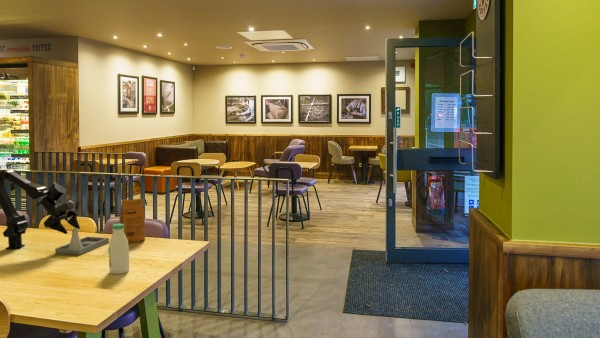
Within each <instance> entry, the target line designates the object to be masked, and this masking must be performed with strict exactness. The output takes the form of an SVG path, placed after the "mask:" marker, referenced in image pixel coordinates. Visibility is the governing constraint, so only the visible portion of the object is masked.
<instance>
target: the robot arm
mask: <svg viewBox="0 0 600 338" xmlns="http://www.w3.org/2000/svg"><path fill="white" fill-rule="evenodd" d="M6 180H7V181H9V182H11V183H12V184H14V186H15V185H16V186H17V187H18V188H21V189H22V190H23V191H25V193H26V195H27V196H28V197H29V198H30V199H32V200H37V201H36V208H38V207H42V209H44V210H45V211H46V215H47V216H48V217H47V218H46V219H45V221H44V222H43V226H44V227H45V228H46V229H51V230H55V231H56V232H60V233H63V234H65V235H67V234H68V230H67V229H66V227H64V225H63V224H62V221H63V220H65V221H66V223H68V224H69V225H70V226H71V227H74V229H75V228H78V229H79V230H80V229H81V227H80V224H79V221H78V215H79V211H78V210H77V209H73V208H74V206H75V203H74V202H73V201H72V200H68V201H65V202H64V203H62V204H61V203H59V204H58V201H60V199H61V198H62V197H64V195H65V194H66V193H67V189H66V188H65V186H62V185H61V184H58V183H57V182H55V183H54V182H53V183H52V185H51V186H50V188H47V187H46V186H45V185H42V184H39V183H36V182H35V183H34V182H32V181H30V180H28V179H27V178H25V177H23V176H22V175H21V174H18V173H17V172H15V171H14V169H9V168H8V169H3V170H0V207H1V209H2V211H3V213H4V215H5V218H6V221H5V223H6V224H5V225H6V229H4V231H3V232H2V234H3V238H7V241H8V246H7V247H5V250H16V249H17V250H18V249H19V250H20V249H21V248H23V247H25V246H26V244H23V239H22V238H23V237H22V235H23V234H26V231H27V229H28V227H29V224H28V223H29V222H28V220H27V219H26V215H25V214H19V213H18V211H17V209H16V207H15V205H14V203H13V202H12V200H11V198H10V196H9V193H8V191H7V190H6ZM38 199H40V200H38Z"/></svg>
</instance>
